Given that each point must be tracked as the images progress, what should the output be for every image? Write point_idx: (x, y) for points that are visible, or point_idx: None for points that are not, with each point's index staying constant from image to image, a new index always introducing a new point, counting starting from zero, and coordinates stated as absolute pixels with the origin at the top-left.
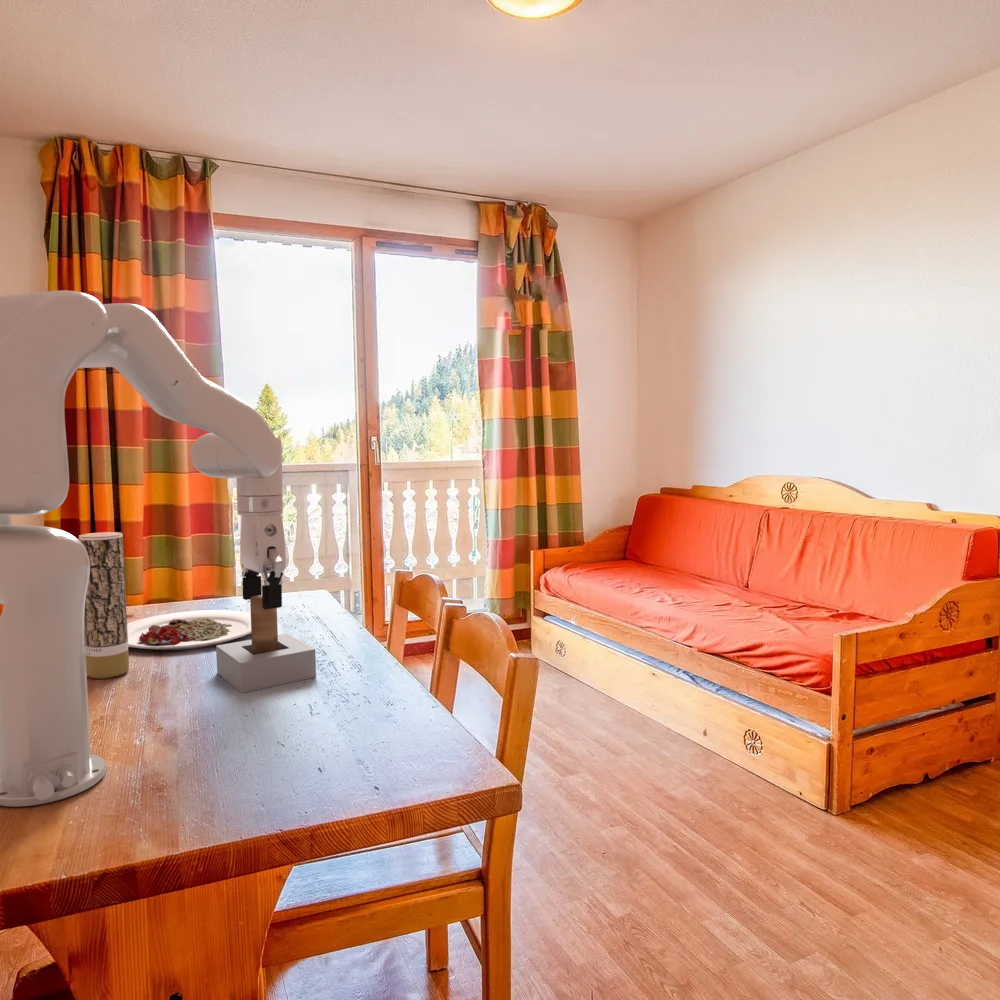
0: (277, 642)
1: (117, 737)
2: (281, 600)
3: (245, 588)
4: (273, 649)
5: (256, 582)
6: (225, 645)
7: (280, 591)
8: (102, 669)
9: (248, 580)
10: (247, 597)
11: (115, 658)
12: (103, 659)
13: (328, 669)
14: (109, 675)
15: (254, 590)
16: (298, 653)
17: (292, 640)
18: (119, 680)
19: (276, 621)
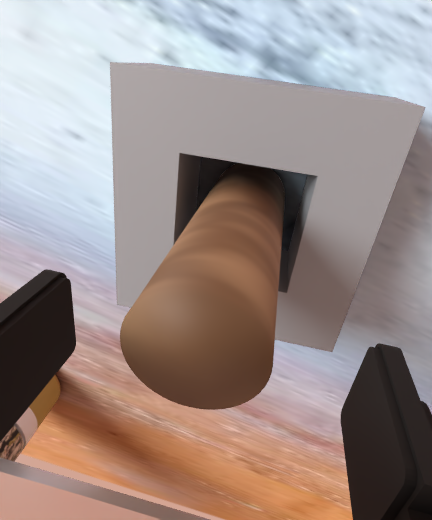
0: (269, 206)
1: (346, 485)
2: (407, 374)
3: (38, 389)
4: (282, 223)
5: (7, 360)
6: (131, 289)
7: (425, 434)
8: (51, 408)
9: (2, 416)
10: (69, 343)
11: (40, 409)
12: (40, 423)
13: (361, 5)
14: (59, 392)
15: (44, 335)
16: (396, 182)
17: (227, 105)
18: (78, 381)
19: (265, 245)
